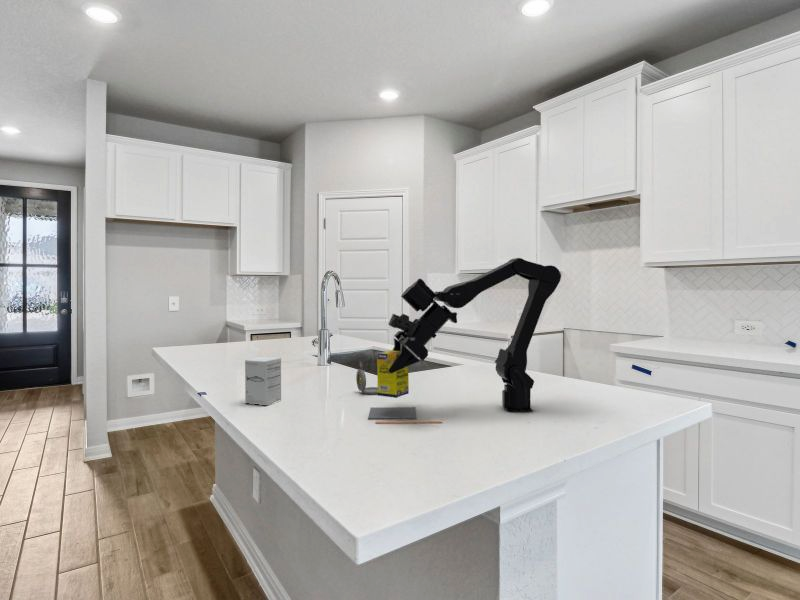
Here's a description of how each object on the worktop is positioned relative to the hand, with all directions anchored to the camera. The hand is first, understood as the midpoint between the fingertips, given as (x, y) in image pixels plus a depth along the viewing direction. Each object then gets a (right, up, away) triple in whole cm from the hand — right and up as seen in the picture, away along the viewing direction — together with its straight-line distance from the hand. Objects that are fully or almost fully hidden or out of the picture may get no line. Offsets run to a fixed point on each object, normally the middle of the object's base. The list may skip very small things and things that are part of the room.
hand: (387, 368), depth 121 cm
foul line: (+5, -12, -6) cm, 15 cm away
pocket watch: (-7, -11, +26) cm, 29 cm away
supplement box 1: (-36, -12, +15) cm, 40 cm away
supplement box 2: (+1, -7, 0) cm, 7 cm away
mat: (+1, -12, +2) cm, 12 cm away
